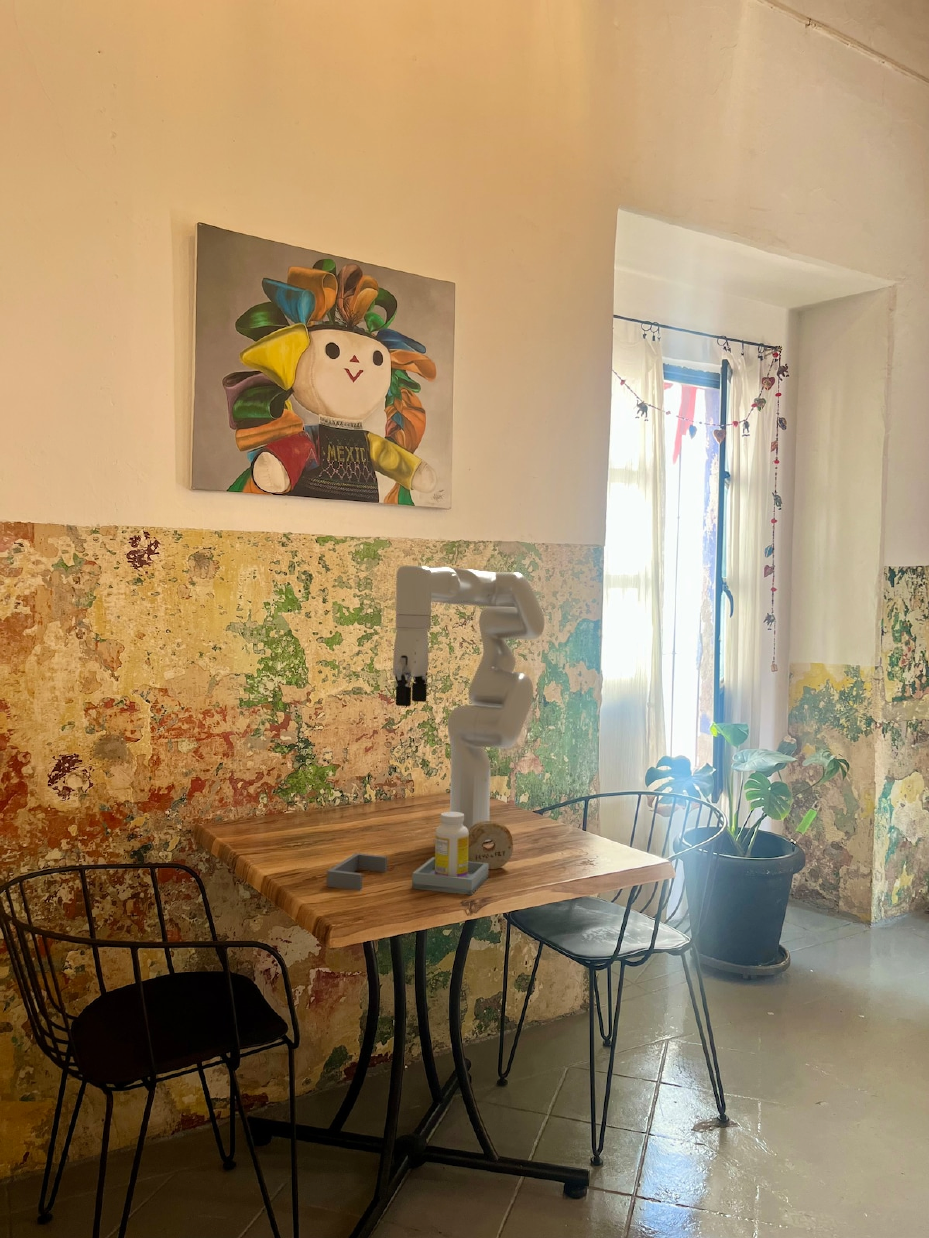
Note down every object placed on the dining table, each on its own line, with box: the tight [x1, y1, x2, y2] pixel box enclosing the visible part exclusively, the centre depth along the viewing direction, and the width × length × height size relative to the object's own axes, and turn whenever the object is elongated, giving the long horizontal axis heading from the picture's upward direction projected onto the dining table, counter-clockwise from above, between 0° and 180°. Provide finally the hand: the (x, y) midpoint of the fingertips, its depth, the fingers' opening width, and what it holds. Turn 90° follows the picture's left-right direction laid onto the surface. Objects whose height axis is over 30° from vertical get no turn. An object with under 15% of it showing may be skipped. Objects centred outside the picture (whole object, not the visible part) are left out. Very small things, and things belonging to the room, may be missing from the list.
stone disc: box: [468, 820, 514, 870], centre depth 194 cm, size 10×4×10 cm, turn 94°
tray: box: [411, 856, 489, 896], centre depth 183 cm, size 12×12×3 cm
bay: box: [326, 852, 388, 891], centre depth 184 cm, size 14×7×3 cm, turn 163°
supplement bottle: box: [434, 811, 469, 878], centre depth 183 cm, size 7×7×13 cm
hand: (411, 703), depth 196 cm, fingers open, 9 cm apart
